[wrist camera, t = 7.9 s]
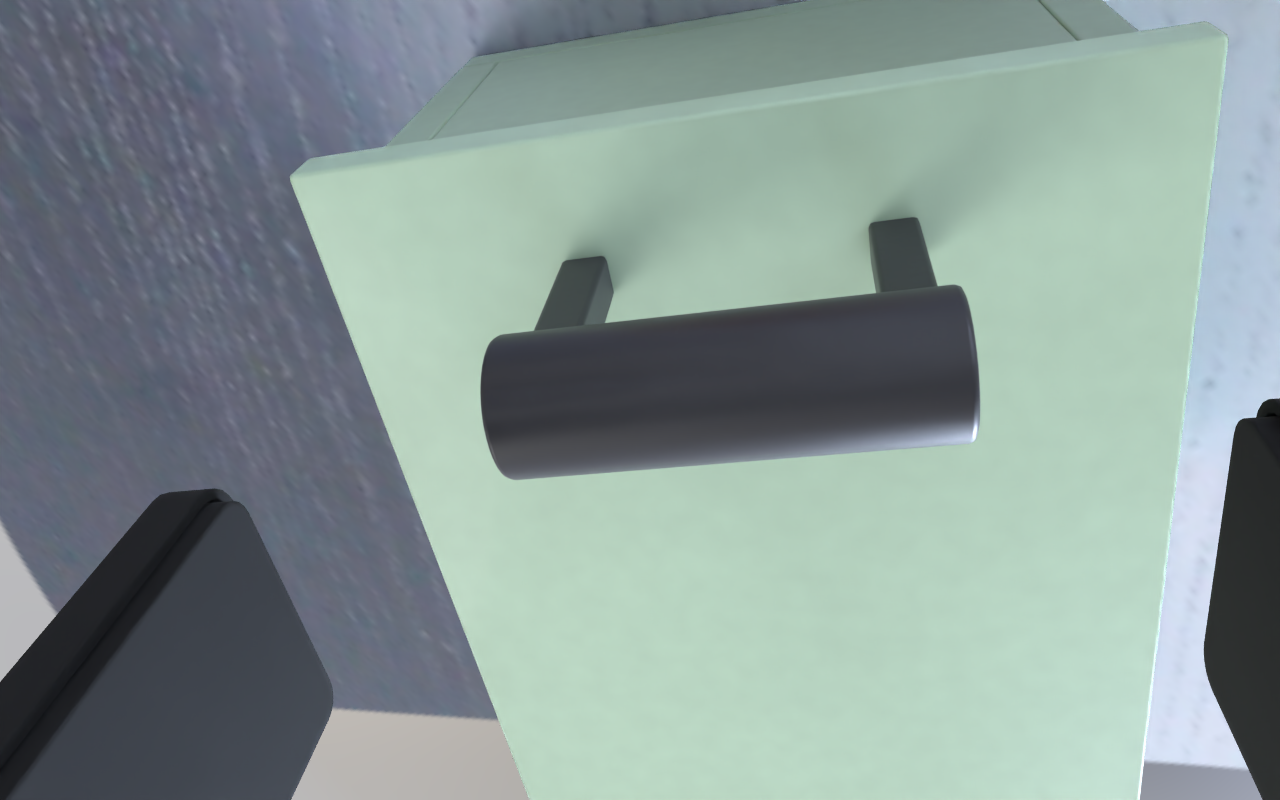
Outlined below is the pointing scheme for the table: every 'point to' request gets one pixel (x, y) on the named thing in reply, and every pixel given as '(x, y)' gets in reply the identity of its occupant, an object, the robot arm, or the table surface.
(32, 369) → the table surface
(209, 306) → the table surface
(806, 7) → the green hinged box
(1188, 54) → the lid
